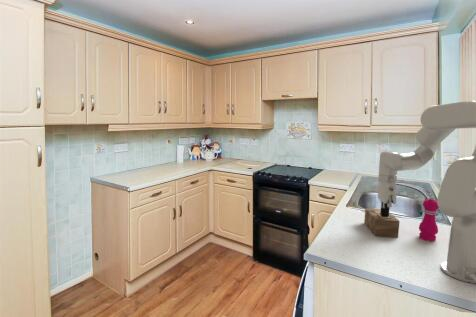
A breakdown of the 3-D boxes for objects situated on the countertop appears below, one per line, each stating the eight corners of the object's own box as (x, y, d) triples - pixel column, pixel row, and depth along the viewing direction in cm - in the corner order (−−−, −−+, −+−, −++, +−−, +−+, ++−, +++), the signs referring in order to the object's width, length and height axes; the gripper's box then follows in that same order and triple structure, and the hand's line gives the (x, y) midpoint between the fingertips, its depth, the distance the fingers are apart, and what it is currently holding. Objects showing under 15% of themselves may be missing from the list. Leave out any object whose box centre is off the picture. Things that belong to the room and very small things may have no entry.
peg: (388, 234, 129) (390, 217, 128) (380, 233, 130) (381, 217, 128) (385, 230, 133) (386, 214, 132) (377, 230, 133) (378, 214, 132)
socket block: (398, 237, 126) (399, 220, 125) (375, 236, 128) (376, 219, 126) (384, 224, 142) (385, 208, 141) (364, 223, 143) (365, 208, 142)
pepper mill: (440, 242, 121) (445, 198, 118) (422, 241, 123) (426, 198, 120) (432, 235, 128) (436, 194, 125) (415, 234, 130) (419, 193, 127)
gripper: (403, 182, 119) (399, 222, 122) (389, 175, 134) (386, 211, 137) (385, 181, 120) (382, 221, 123) (373, 174, 135) (370, 210, 138)
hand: (384, 215), depth 130 cm, fingers closed
